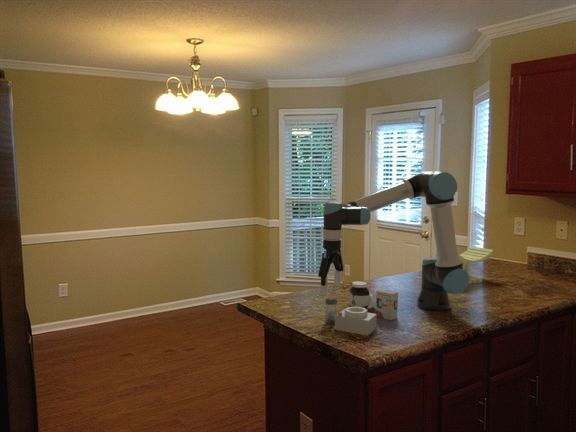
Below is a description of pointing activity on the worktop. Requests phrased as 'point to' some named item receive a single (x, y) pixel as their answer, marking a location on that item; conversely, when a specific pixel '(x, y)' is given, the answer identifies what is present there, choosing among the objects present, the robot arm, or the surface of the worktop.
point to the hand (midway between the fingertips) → (330, 289)
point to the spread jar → (360, 295)
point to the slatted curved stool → (474, 259)
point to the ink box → (386, 304)
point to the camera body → (355, 321)
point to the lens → (330, 310)
